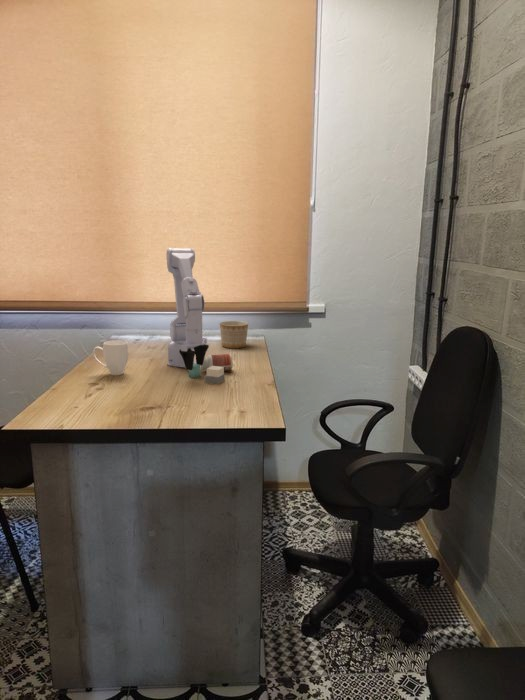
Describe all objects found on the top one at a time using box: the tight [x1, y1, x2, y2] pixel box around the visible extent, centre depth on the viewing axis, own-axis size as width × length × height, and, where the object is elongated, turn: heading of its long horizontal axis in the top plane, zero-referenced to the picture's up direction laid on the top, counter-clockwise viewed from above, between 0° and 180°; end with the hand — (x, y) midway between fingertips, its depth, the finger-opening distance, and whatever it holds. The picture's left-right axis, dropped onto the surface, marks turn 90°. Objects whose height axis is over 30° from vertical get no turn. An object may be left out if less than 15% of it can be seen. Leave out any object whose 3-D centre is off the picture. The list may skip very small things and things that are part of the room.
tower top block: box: [206, 366, 225, 377], centre depth 172 cm, size 4×4×2 cm
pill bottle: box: [200, 353, 234, 372], centre depth 184 cm, size 6×6×11 cm
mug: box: [92, 339, 129, 376], centre depth 177 cm, size 12×8×11 cm
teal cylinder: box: [188, 364, 201, 379], centre depth 177 cm, size 4×4×4 cm
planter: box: [219, 320, 249, 349], centre depth 225 cm, size 13×13×10 cm
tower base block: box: [204, 373, 226, 385], centre depth 173 cm, size 5×5×2 cm
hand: (194, 367), depth 177 cm, fingers open, 7 cm apart
